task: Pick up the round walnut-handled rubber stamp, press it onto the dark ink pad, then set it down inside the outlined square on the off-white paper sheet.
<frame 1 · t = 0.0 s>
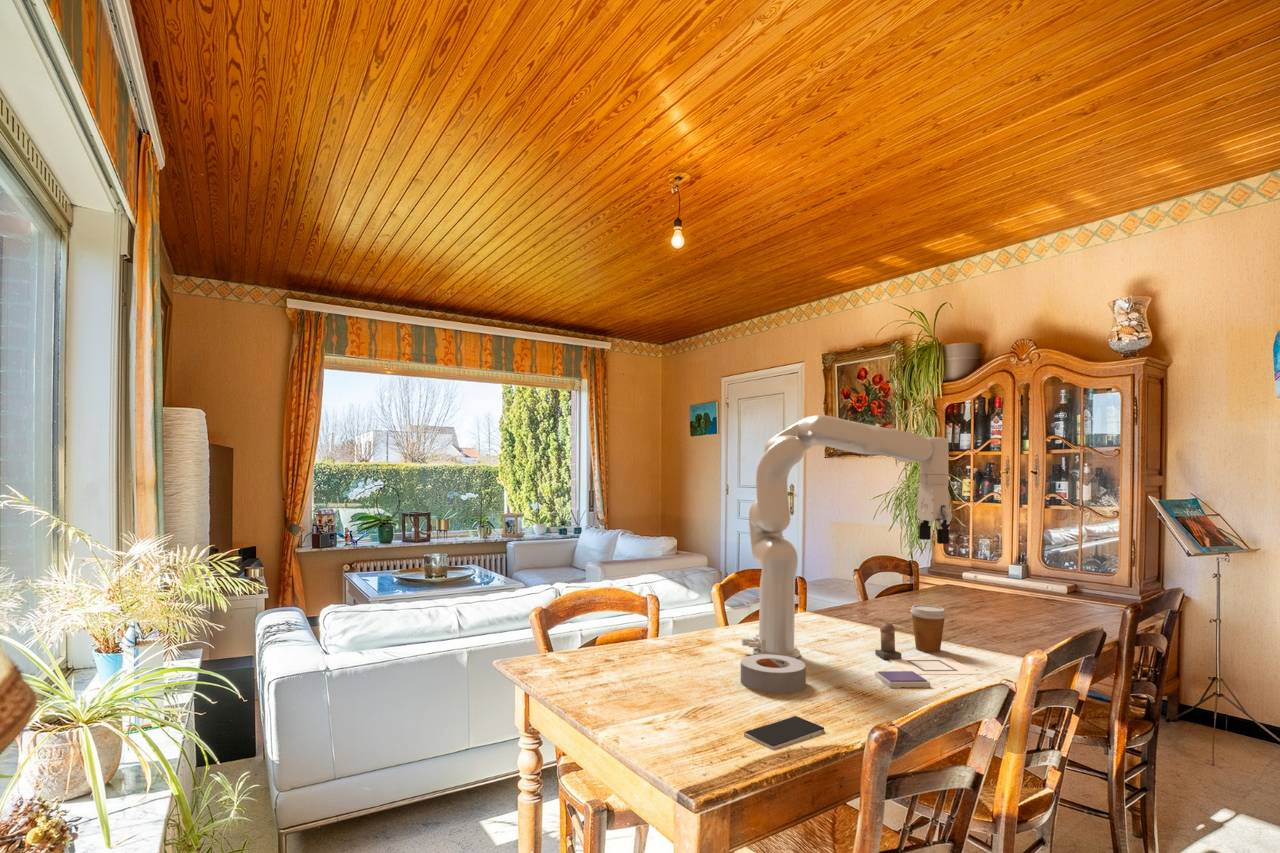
hand: (933, 541, 194), 31 cm above the table, tool pointing down, fingers open, 9 cm apart
stamp: (888, 657, 187), on the table, tilted 5°, touching sheet
tape roll: (772, 685, 164), on the table
ink pad: (901, 682, 167), on the table
smartphone: (784, 737, 133), on the table
sheet: (931, 666, 180), on the table
disposable coffee cup: (927, 651, 195), on the table
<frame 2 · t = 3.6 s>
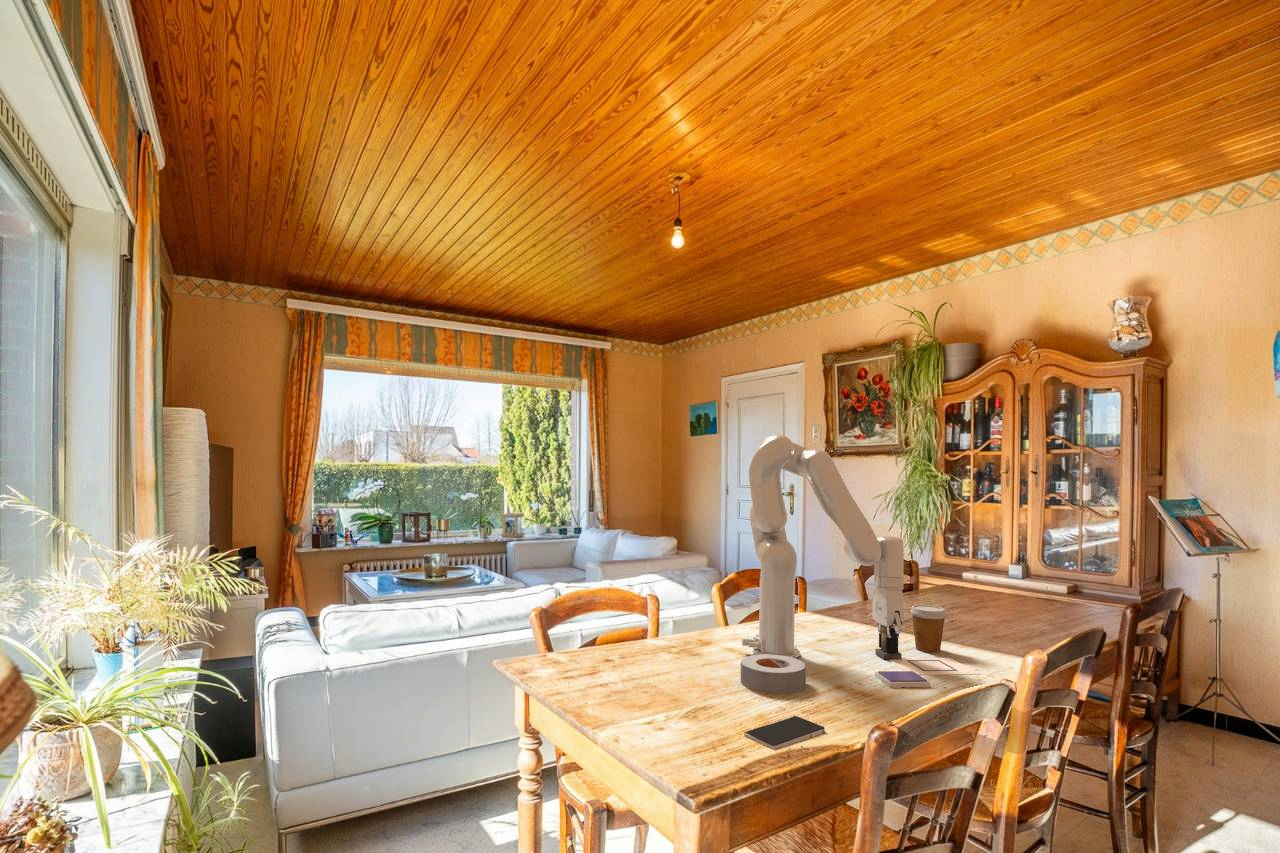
hand: (888, 649, 187), 2 cm above the table, tool pointing down, fingers closed on stamp, 3 cm apart
stamp: (888, 656, 187), on the table, touching gripper, sheet
everything else where it was.
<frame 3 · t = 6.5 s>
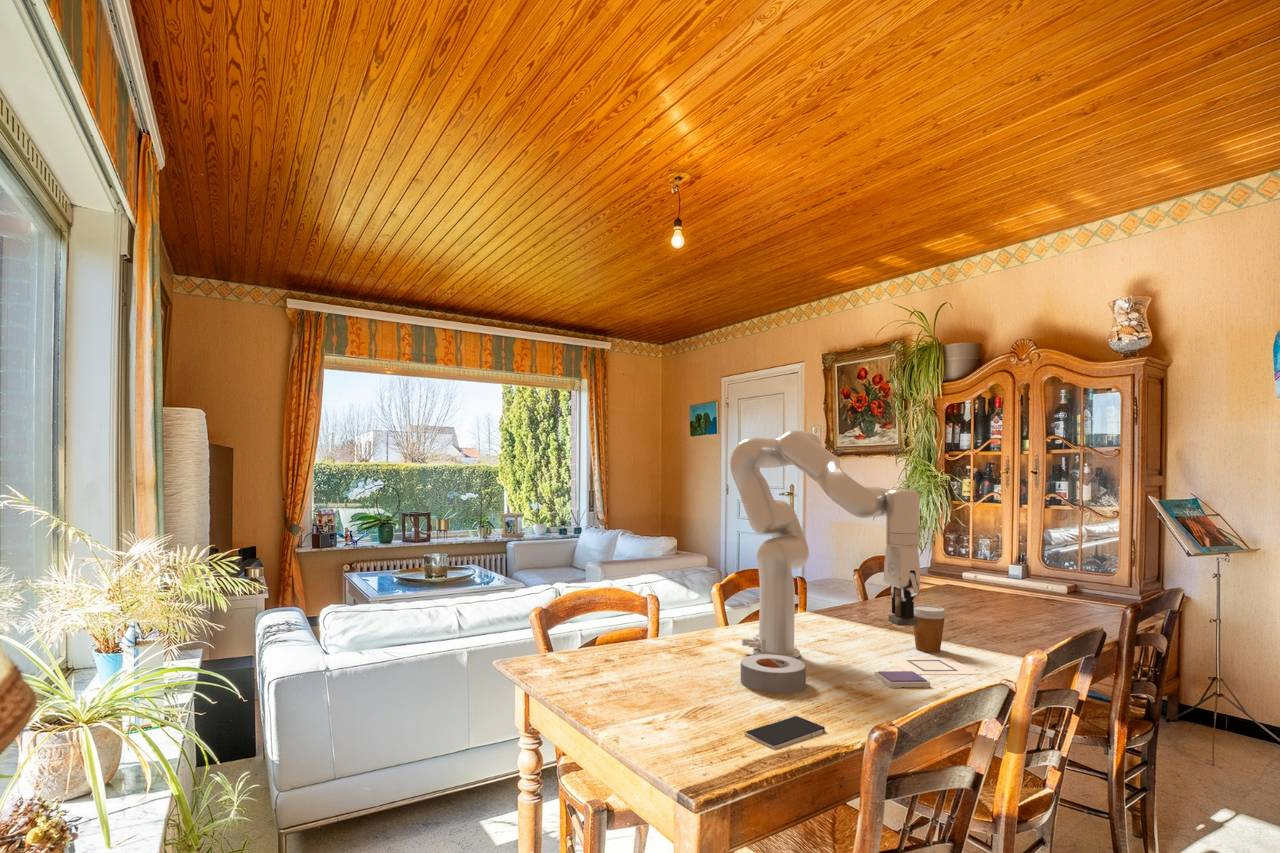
hand: (902, 615, 167), 16 cm above the table, tool pointing down, fingers closed on stamp, 3 cm apart
stamp: (903, 623, 167), point 14 cm above the table, touching gripper
everything else where it was.
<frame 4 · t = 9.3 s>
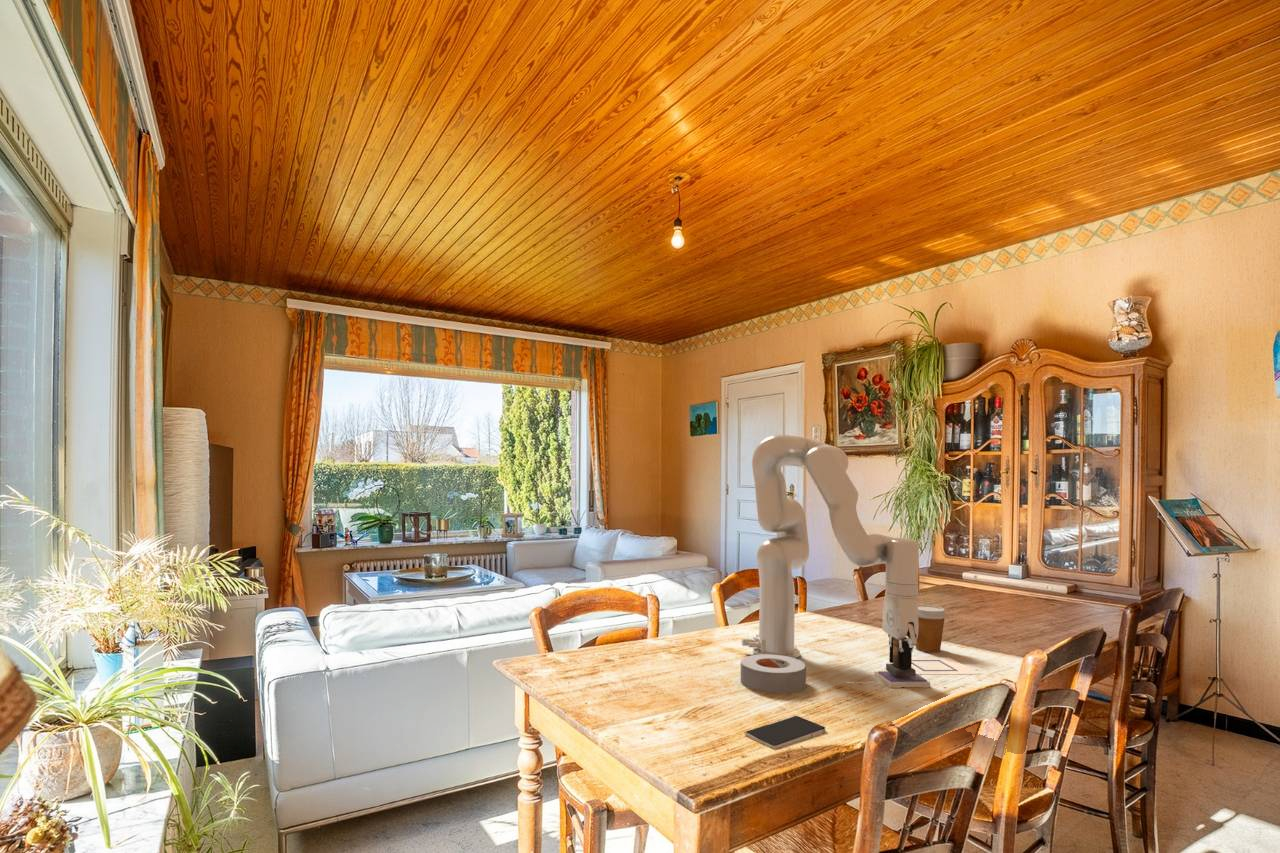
hand: (900, 664, 167), 4 cm above the table, tool pointing down, fingers closed on stamp, 3 cm apart
stamp: (900, 673, 167), point 2 cm above the table, touching gripper
everything else where it was.
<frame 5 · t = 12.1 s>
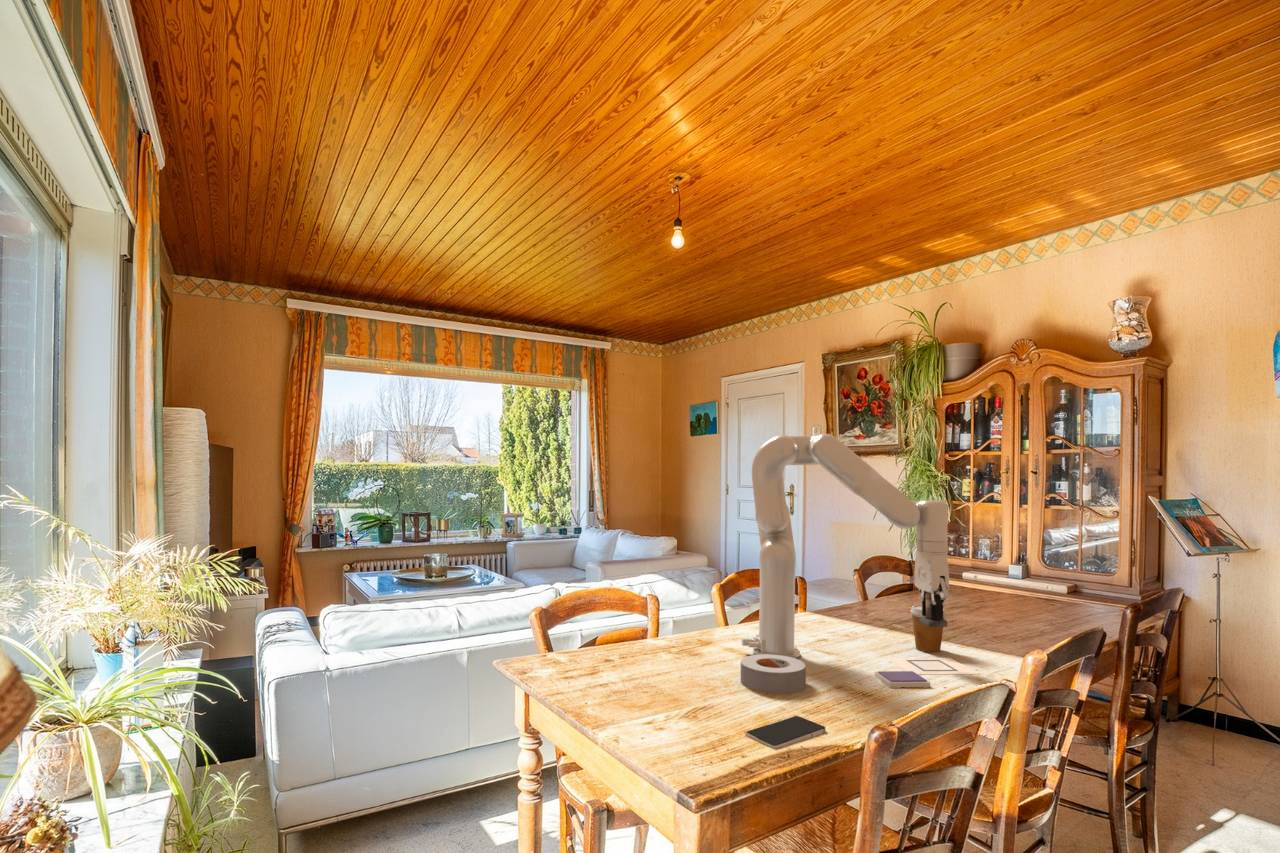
hand: (932, 616, 180), 13 cm above the table, tool pointing down, fingers closed on stamp, 3 cm apart
stamp: (933, 624, 180), point 11 cm above the table, touching gripper
everything else where it was.
when the fingers open (3 cm above the table, at t = 14.8 s): stamp stays where it is, resting on sheet.
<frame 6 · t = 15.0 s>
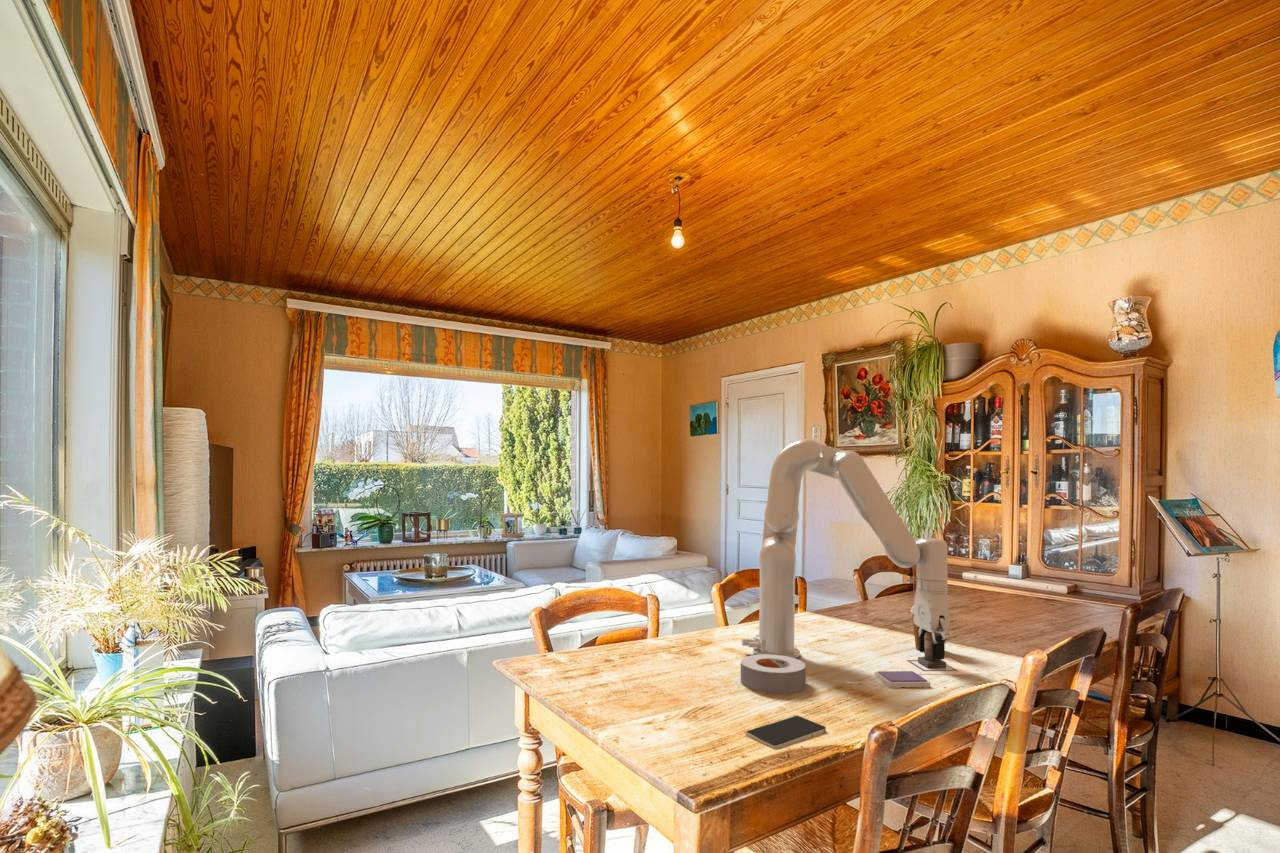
hand: (931, 654, 180), 3 cm above the table, tool pointing down, fingers open, 5 cm apart
stamp: (931, 665, 180), resting on sheet
everything else where it was.
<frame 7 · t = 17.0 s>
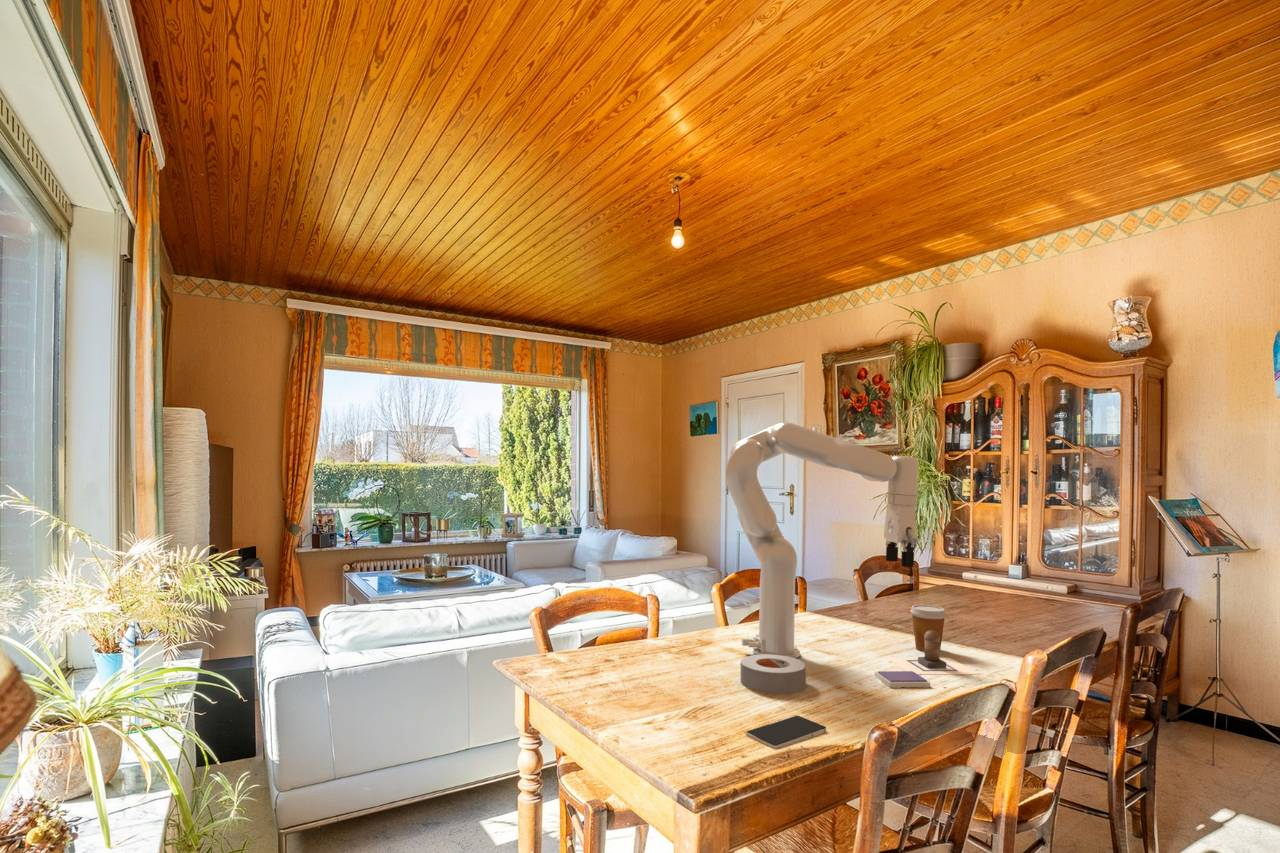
hand: (899, 563, 188), 25 cm above the table, tool pointing down, fingers open, 9 cm apart
nothing on the table moved.
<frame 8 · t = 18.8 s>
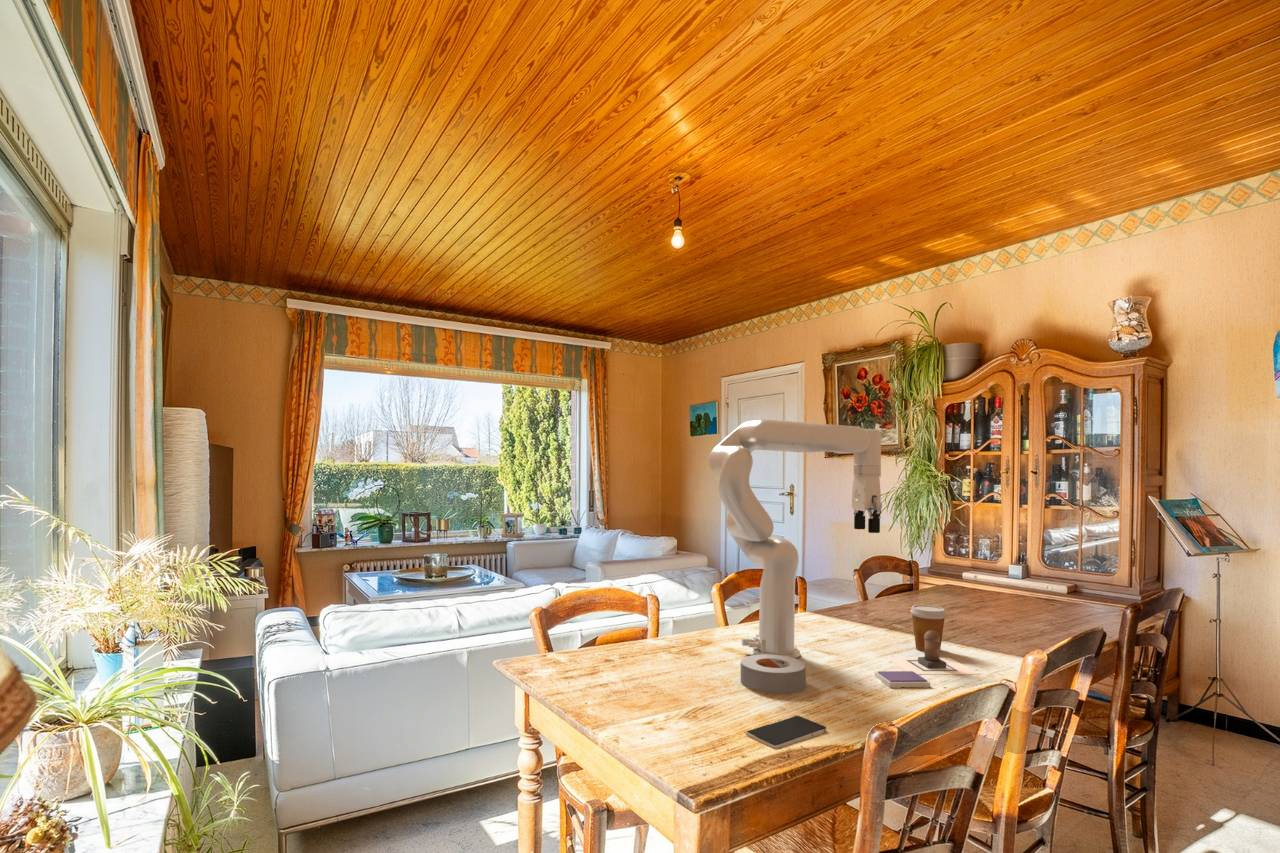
hand: (866, 530, 198), 33 cm above the table, tool pointing down, fingers open, 9 cm apart
nothing on the table moved.
at the end: stamp inside the target area on the sheet (0.1 cm from its centre), point 0.3 cm above the sheet's base; stamp tilted 0°; the gripper is holding nothing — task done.
